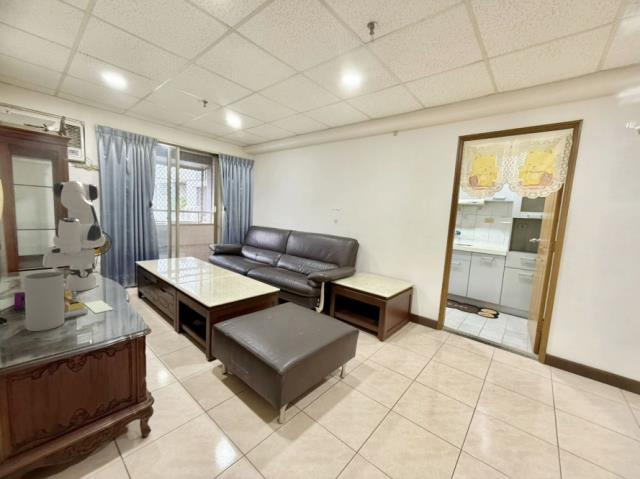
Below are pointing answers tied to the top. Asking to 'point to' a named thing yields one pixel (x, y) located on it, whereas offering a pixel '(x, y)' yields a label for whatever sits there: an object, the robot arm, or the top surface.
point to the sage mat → (98, 306)
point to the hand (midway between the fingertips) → (70, 273)
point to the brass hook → (68, 302)
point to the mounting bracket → (19, 300)
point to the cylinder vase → (44, 300)
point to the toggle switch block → (75, 312)
